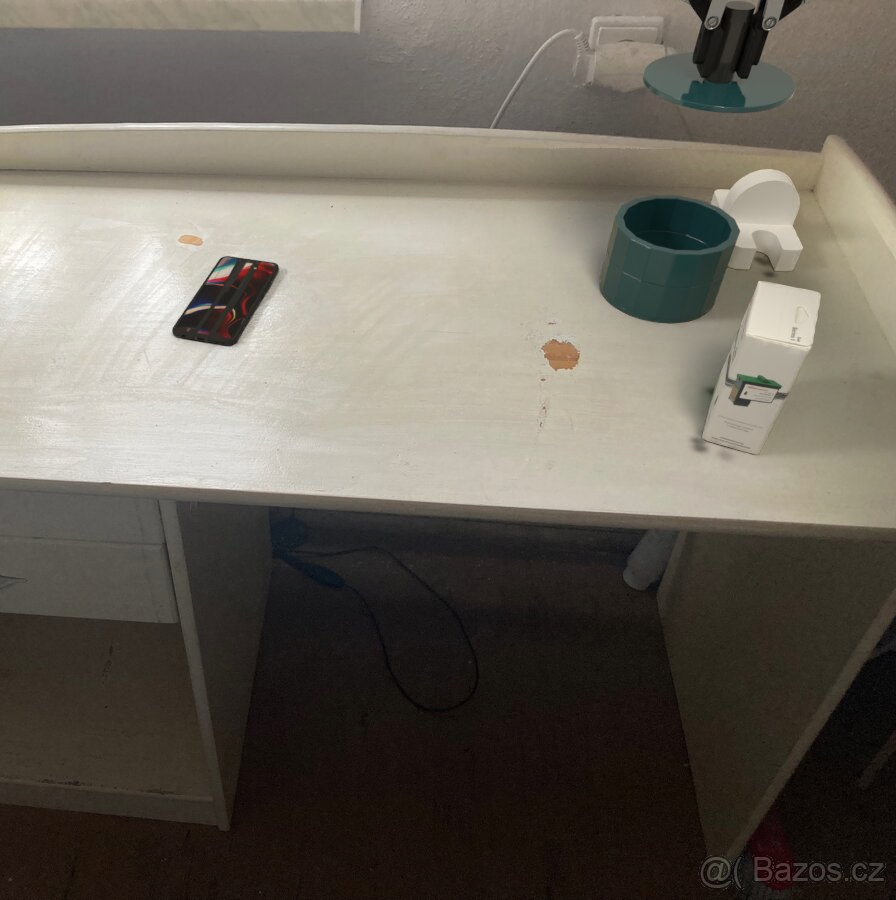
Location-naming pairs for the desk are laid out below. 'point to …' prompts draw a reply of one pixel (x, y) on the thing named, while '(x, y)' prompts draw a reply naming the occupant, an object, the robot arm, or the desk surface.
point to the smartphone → (226, 300)
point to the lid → (721, 74)
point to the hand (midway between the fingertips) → (721, 70)
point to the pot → (667, 257)
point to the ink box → (762, 366)
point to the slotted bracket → (763, 218)
